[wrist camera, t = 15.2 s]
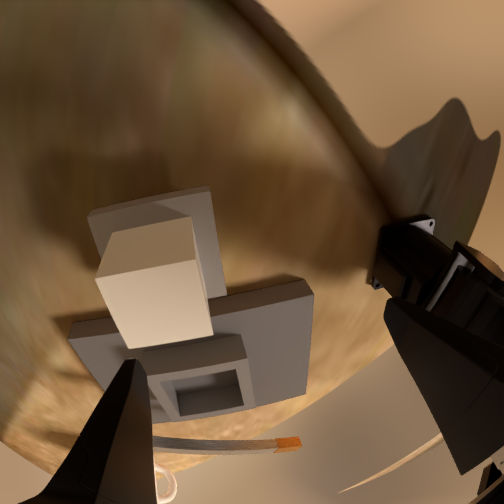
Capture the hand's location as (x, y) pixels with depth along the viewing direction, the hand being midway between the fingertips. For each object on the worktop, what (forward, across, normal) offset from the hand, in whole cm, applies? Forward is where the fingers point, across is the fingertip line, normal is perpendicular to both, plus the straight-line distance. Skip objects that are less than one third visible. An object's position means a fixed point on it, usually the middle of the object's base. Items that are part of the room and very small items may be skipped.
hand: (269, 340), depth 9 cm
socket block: (+12, +5, +14) cm, 19 cm away
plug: (+12, +4, +1) cm, 12 cm away
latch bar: (+6, +5, +21) cm, 22 cm away
